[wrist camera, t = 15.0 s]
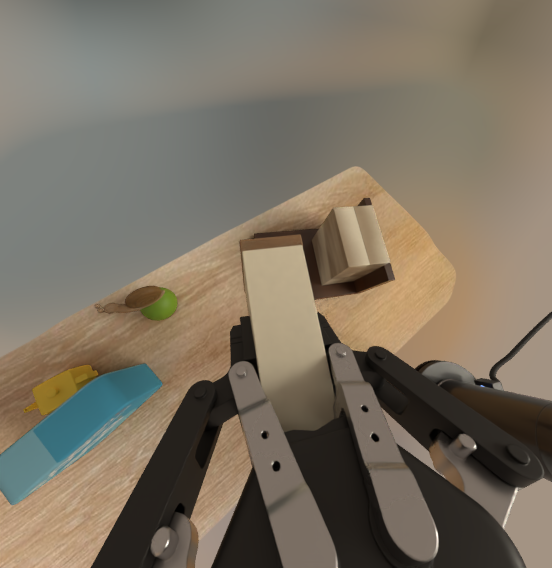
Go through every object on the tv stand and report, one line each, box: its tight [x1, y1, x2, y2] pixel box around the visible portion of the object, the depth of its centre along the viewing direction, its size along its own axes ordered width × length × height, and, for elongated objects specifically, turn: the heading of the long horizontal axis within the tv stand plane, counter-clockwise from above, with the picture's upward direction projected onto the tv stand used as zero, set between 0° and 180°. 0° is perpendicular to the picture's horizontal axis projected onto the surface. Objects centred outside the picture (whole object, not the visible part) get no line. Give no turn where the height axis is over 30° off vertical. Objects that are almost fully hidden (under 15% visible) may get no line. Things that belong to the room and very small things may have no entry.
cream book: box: [240, 234, 335, 432], centre depth 16 cm, size 4×10×11 cm, turn 10°
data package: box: [0, 363, 162, 505], centre depth 25 cm, size 12×4×12 cm, turn 134°
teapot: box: [23, 365, 98, 415], centre depth 28 cm, size 8×6×5 cm
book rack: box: [254, 198, 395, 300], centre depth 36 cm, size 20×15×12 cm
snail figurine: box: [95, 286, 177, 320], centre depth 30 cm, size 5×6×12 cm
